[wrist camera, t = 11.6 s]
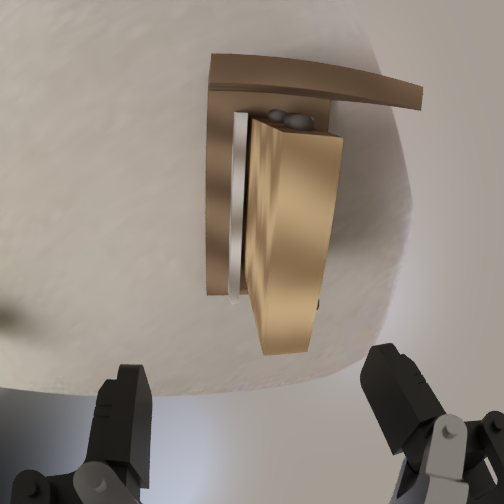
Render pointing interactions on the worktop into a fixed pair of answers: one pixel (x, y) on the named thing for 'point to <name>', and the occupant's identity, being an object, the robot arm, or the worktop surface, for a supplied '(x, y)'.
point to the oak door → (288, 225)
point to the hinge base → (237, 132)
